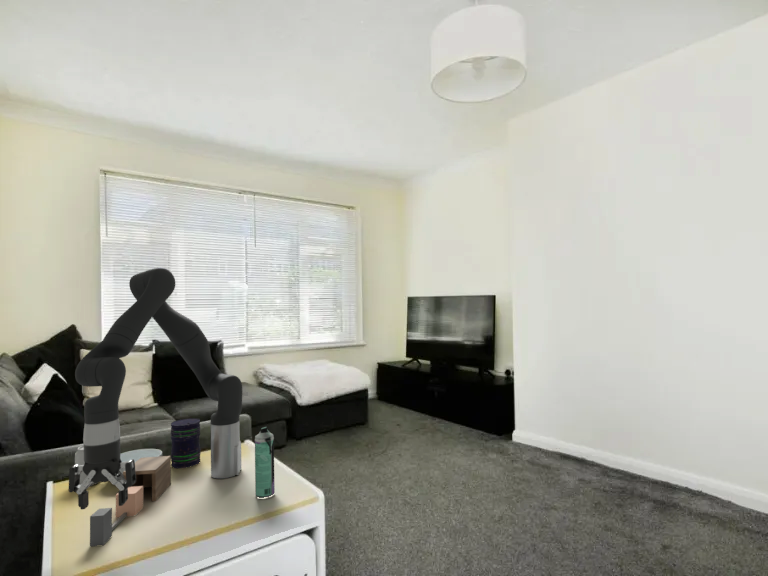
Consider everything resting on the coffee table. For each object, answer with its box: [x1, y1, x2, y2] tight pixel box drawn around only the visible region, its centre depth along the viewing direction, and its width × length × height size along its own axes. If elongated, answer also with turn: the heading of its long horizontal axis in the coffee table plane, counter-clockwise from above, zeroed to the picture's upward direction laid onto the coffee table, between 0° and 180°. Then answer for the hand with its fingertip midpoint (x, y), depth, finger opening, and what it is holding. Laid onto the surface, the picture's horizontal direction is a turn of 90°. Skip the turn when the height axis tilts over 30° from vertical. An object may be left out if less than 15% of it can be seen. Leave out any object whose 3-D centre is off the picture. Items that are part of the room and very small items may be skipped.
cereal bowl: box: [115, 448, 163, 478], centre depth 144 cm, size 17×17×7 cm
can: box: [74, 444, 98, 487], centre depth 141 cm, size 8×8×12 cm
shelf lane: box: [123, 455, 172, 502], centre depth 132 cm, size 9×12×9 cm
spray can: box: [254, 426, 276, 498], centre depth 128 cm, size 6×6×20 cm
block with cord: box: [89, 486, 144, 547], centre depth 112 cm, size 5×20×7 cm, turn 7°
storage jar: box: [170, 417, 201, 469], centre depth 157 cm, size 10×10×15 cm
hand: (103, 506), depth 105 cm, fingers open, 8 cm apart
